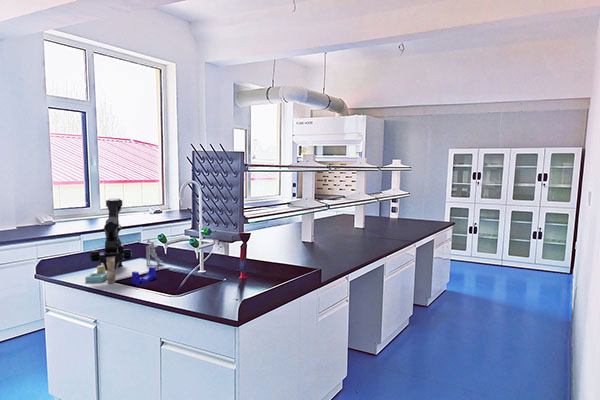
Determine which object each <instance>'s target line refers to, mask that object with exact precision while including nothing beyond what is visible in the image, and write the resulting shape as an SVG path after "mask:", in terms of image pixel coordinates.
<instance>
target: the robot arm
mask: <svg viewBox="0 0 600 400" xmlns="http://www.w3.org/2000/svg"><path fill="white" fill-rule="evenodd" d="M105 207H107V211H108V218H107V219H106V220H105V224H104V225H103V232H104V236H105V241H104V252H100V250H93V251H90V252H89V257H90V258H89V259H90V262H92V263H93V262H94V263H95V262H99V263H101V264H102V263H103V265H104V267H105V269H106V271H107V257H115V271H116V270H117V269H118V268H119V267H124V265H123V262H124V260H131V259H133V257H132V256H133V255H132V254H133V253H132V249H130V248H125V247H124V245H123V244H122V241H121V239H120V238H119V234H120V233H119V232H120V231H122V225H121V224H120V222H119V221H120V220H119V214H120V213H121V211H122V207H123V200H122V199H121V198H120V197H119V198H113V197H112V198H108V199H107V200H105Z"/></svg>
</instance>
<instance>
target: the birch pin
mask: <svg viewBox="0 0 600 400" xmlns="http://www.w3.org/2000/svg"><path fill="white" fill-rule="evenodd" d="M106 263H107V279H106V280H107V283H108V284H114V283H116V270H115V257H106Z"/></svg>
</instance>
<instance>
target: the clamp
mask: <svg viewBox="0 0 600 400" xmlns="http://www.w3.org/2000/svg"><path fill="white" fill-rule="evenodd" d="M146 243H147V244H149V245H147V246H146V247H145V248H146V249H145V250H146V253H145V256H146V266H147V267H156V266H159V265H160V264H161V263H163V262H164V260H161V259H160V258H159V257H160V256H158V254H157V252H156V248H157V247H159V245H158V244H156V245H155V244H154V243H155V242H154V241H152V240H150V238H148V239H147V241H146ZM151 257H152V258H154V261H155V263H154V262H153V263H151ZM149 264H150V265H149Z"/></svg>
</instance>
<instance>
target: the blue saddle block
mask: <svg viewBox="0 0 600 400" xmlns="http://www.w3.org/2000/svg"><path fill="white" fill-rule="evenodd" d="M156 269H157V268H156V266H148V272H147V273H146V274H145V276H144V277H141V276H140V272H138V271H135V270H134V271H132V272H131V280H132V281H131V283H132V285H137V286H141V285H143V284H146V283H149V281H152V280H156V279H157V276H156V275H157V270H156Z"/></svg>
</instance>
